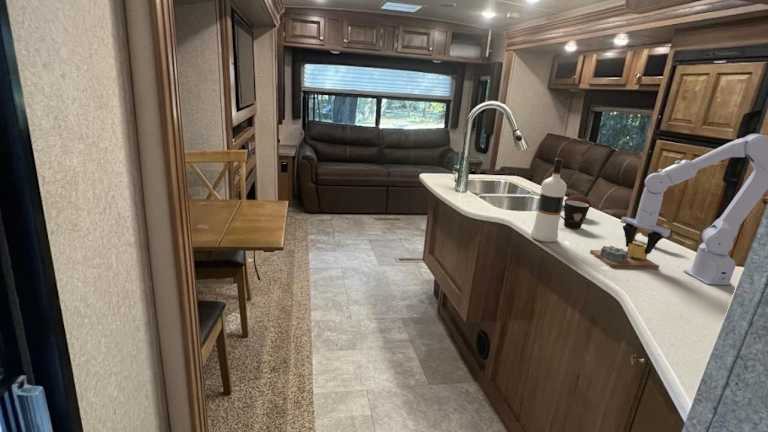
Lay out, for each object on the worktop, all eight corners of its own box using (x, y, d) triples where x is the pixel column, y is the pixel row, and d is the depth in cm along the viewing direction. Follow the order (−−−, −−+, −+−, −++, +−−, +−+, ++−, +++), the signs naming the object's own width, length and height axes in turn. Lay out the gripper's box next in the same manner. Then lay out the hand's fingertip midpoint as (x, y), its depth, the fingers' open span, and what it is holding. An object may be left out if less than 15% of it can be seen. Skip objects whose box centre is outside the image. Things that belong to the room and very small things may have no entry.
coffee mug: (584, 226, 169) (589, 203, 166) (581, 231, 162) (587, 207, 159) (555, 220, 175) (560, 198, 172) (551, 225, 168) (556, 202, 165)
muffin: (581, 222, 175) (586, 199, 172) (556, 215, 183) (561, 194, 180) (592, 218, 183) (597, 196, 180) (568, 211, 191) (572, 191, 188)
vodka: (525, 235, 153) (539, 156, 144) (545, 233, 156) (560, 156, 147) (541, 243, 145) (558, 160, 136) (562, 242, 148) (579, 161, 139)
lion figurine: (667, 248, 149) (674, 225, 147) (661, 251, 146) (668, 227, 144) (626, 236, 161) (632, 214, 158) (620, 238, 158) (625, 216, 155)
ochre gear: (649, 257, 133) (652, 247, 132) (640, 259, 130) (643, 249, 129) (633, 251, 137) (635, 241, 136) (623, 253, 135) (626, 243, 134)
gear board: (658, 269, 129) (661, 257, 128) (611, 267, 127) (614, 255, 126) (633, 254, 141) (636, 243, 139) (589, 253, 139) (592, 241, 138)
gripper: (679, 215, 125) (667, 256, 129) (633, 203, 137) (623, 240, 141) (667, 217, 122) (655, 259, 126) (621, 205, 134) (611, 243, 138)
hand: (637, 249), depth 133 cm, fingers open, 6 cm apart
